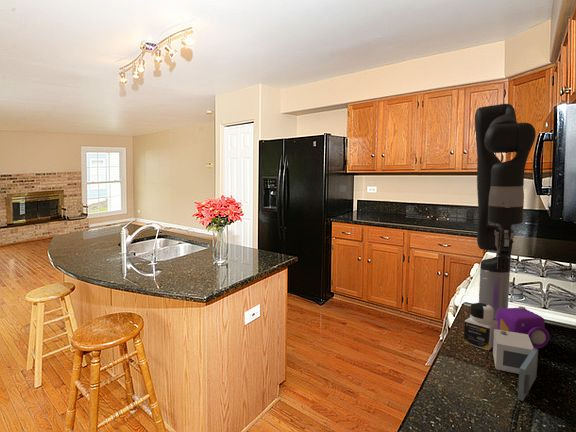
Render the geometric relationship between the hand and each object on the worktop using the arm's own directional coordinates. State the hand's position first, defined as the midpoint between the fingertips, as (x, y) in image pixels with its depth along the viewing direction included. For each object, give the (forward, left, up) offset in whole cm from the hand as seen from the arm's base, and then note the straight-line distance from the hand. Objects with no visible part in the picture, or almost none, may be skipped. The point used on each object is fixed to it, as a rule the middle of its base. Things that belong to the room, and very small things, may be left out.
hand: (502, 271), depth 88 cm
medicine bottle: (-14, -3, -26) cm, 30 cm away
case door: (+8, +6, -26) cm, 28 cm away
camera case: (-4, +4, -26) cm, 27 cm away
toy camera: (-19, +8, -26) cm, 33 cm away
